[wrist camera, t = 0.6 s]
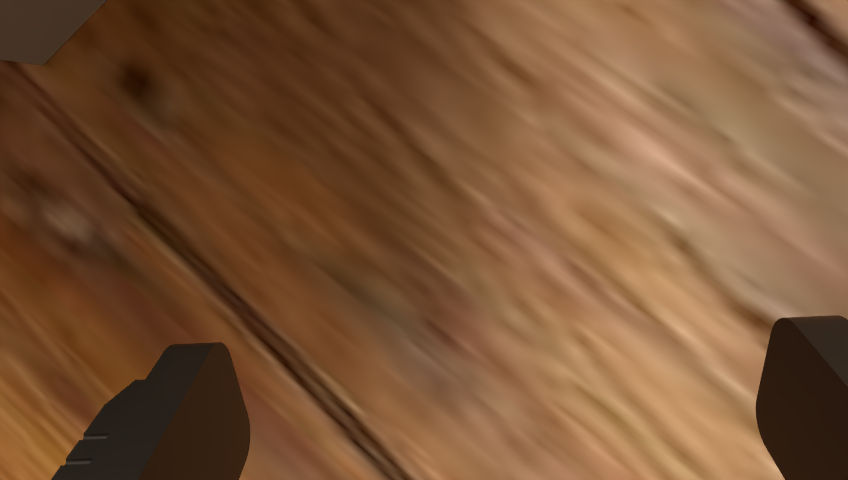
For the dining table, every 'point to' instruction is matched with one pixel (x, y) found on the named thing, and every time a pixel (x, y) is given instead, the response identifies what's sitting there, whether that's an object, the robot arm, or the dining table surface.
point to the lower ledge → (40, 27)
